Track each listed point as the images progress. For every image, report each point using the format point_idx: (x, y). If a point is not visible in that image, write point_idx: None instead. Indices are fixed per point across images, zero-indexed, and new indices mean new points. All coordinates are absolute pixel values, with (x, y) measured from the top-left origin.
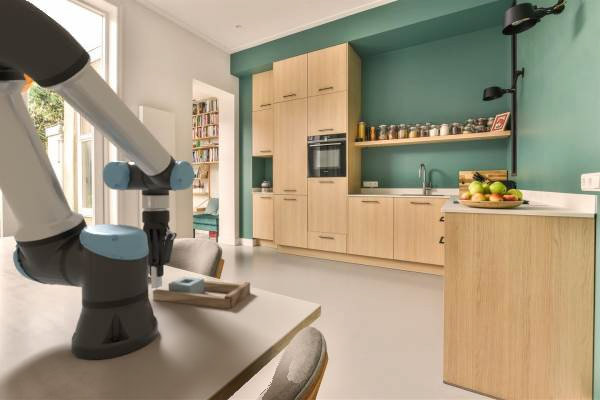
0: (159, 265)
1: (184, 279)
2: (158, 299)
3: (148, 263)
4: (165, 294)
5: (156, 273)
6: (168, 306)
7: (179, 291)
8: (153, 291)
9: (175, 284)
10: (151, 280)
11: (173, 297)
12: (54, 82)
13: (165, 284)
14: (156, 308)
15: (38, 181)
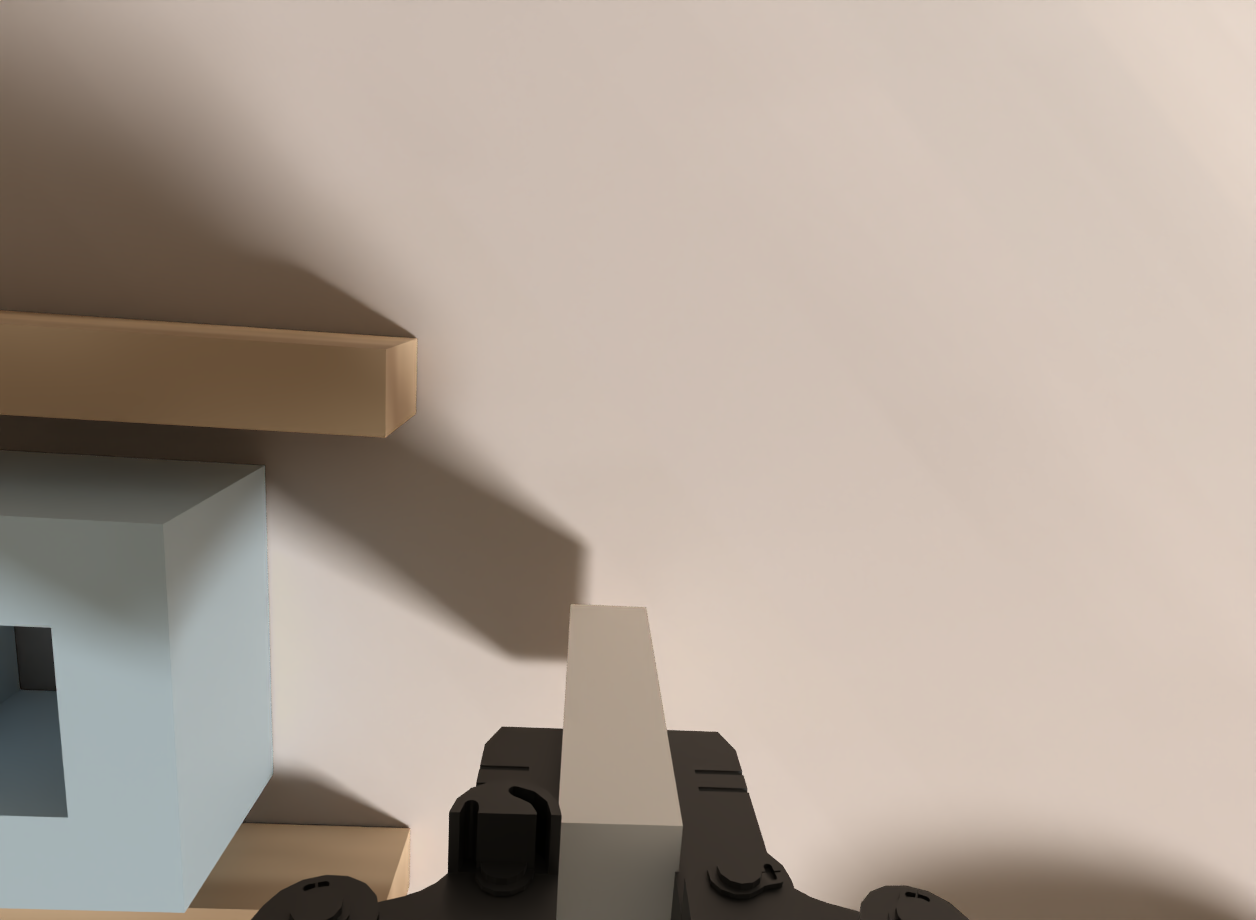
0: (459, 879)
1: (66, 793)
2: (319, 334)
3: (790, 889)
4: (147, 330)
5: (561, 752)
6: (8, 152)
7: (5, 480)
8: (375, 346)
9: (8, 516)
10: (651, 659)
11: (10, 316)
12: None
13: None
14: (118, 44)
15: None
